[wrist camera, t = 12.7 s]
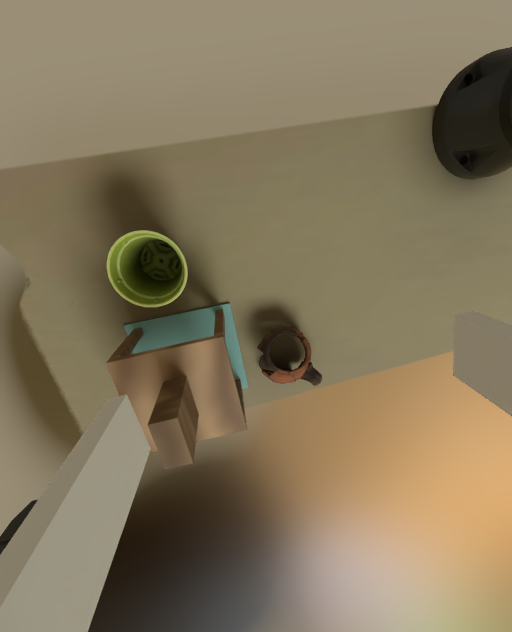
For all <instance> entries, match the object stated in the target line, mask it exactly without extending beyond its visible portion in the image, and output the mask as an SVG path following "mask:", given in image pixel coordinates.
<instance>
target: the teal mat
mask: <svg viewBox="0 0 512 632" xmlns="http://www.w3.org/2000/svg"><path fill="white" fill-rule="evenodd" d="M222 309H223V312H224V316H225V343H226V347H227V351H228V355H229V359H230V363H231V366H232V370H233V374H234V378H235V380H238V379H240V380H241V385H242V389H244V388H249V387H248V383H247V378H246V374H245V369H244V365H243V360H242V356H241V351H240V347H239V343H238V338H237V334H236V329H235V325H234V320H233V316H232V311H231V307H230V303H227V304H222V305H217V306H213V307H208V308H203V309H198V310H194V311H189V312H184V313H179V314H174V315H170V316H165V317H160V318H155V319H151V320H146V321H141V322H136V323H131V324H127V325H124V328H125V331H126V334H127V336H128V335H129V334H130V333H131V332H132V331H133V329H136V328H140V327H141V328H142V330H143V333H144V335H143V336H142V337H141V339H140V340H139V342H138V343H137V345H136V346H135V348H134V349H133V353H134V354H135V353H140V352H144V351H148V350H153V349H157V348H162V347H166V346H171V345H175V344H179V343H184V342H188V341H193V340H197V339H202V338H206V337H210V336H214V326H215V311H217V310H222Z"/></svg>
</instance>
